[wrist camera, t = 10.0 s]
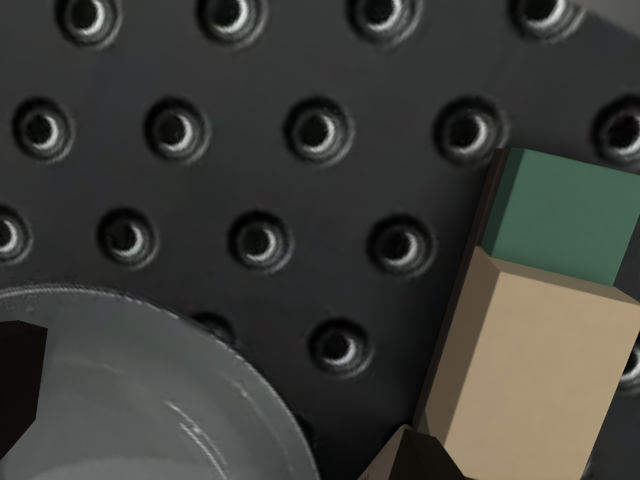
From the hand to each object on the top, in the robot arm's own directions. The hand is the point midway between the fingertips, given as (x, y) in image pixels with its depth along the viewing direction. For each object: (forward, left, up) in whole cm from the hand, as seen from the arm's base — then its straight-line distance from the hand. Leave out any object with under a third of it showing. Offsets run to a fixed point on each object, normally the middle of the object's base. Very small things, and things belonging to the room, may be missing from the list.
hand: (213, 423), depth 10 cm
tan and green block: (+1, -8, -10) cm, 13 cm away
